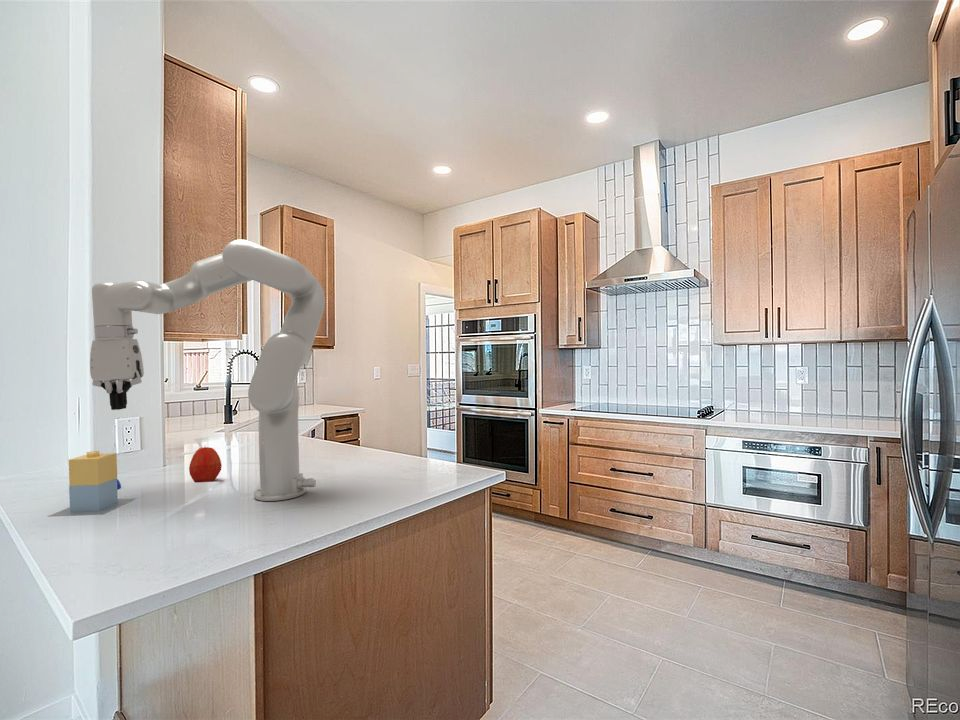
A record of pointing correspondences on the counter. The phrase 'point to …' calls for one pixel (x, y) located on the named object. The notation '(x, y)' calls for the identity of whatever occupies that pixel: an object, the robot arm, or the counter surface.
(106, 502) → the blue brick
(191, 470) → the apple
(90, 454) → the ochre brick
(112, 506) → the baseplate
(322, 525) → the counter surface
